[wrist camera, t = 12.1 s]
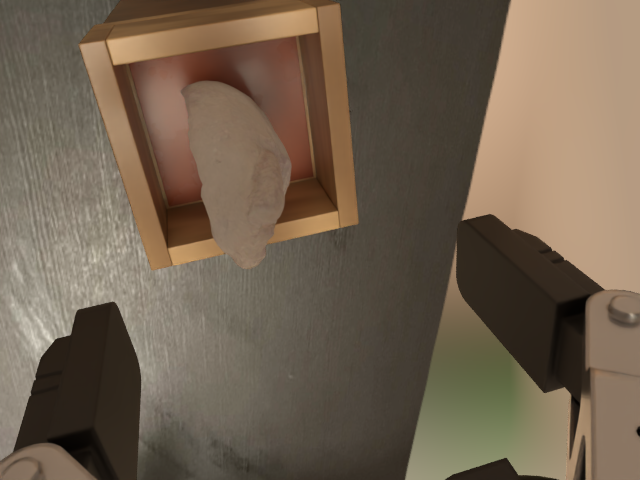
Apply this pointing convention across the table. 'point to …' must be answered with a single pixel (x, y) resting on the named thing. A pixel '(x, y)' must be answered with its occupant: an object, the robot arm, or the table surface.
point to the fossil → (237, 168)
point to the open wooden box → (246, 76)
